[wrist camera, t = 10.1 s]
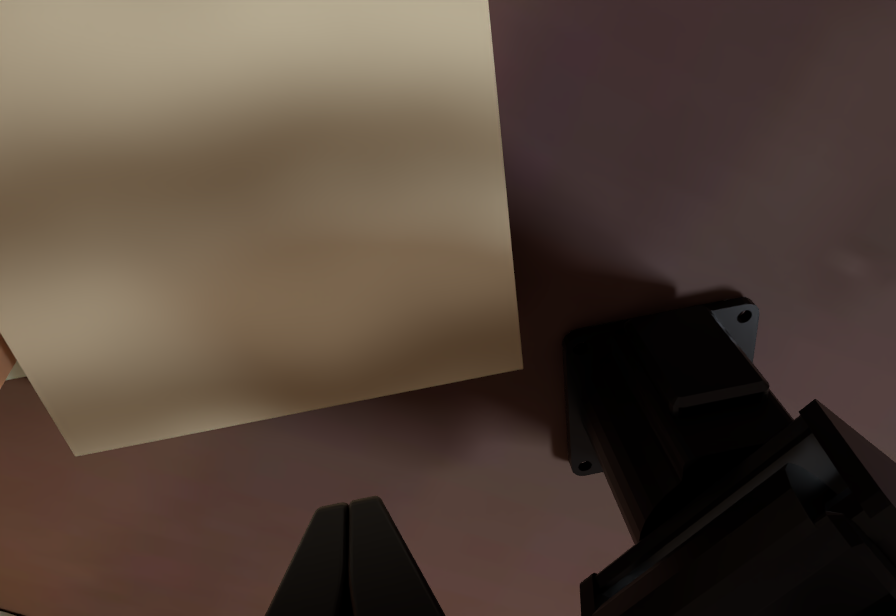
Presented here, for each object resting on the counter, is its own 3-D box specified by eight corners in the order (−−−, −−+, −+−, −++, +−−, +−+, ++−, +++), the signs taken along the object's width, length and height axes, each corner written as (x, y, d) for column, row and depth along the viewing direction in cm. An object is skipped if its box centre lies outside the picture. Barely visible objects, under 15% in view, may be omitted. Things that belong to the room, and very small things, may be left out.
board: (505, 320, 23) (523, 368, 21) (98, 399, 23) (75, 456, 20) (447, -216, 15) (466, -223, 13) (-183, -115, 15) (-266, -106, 13)
